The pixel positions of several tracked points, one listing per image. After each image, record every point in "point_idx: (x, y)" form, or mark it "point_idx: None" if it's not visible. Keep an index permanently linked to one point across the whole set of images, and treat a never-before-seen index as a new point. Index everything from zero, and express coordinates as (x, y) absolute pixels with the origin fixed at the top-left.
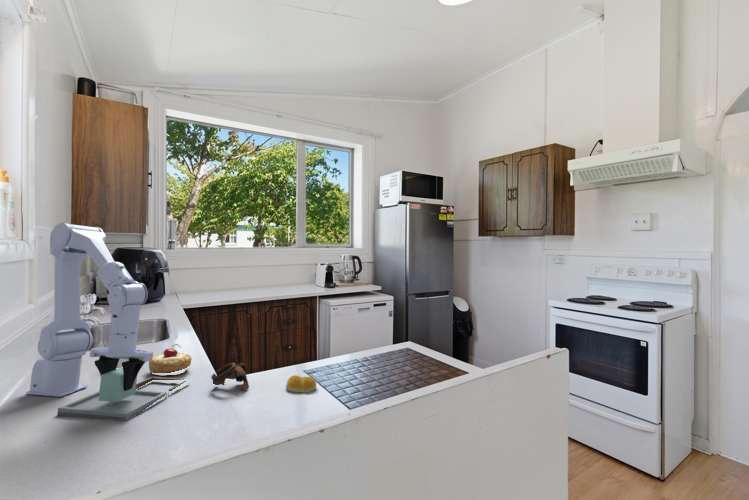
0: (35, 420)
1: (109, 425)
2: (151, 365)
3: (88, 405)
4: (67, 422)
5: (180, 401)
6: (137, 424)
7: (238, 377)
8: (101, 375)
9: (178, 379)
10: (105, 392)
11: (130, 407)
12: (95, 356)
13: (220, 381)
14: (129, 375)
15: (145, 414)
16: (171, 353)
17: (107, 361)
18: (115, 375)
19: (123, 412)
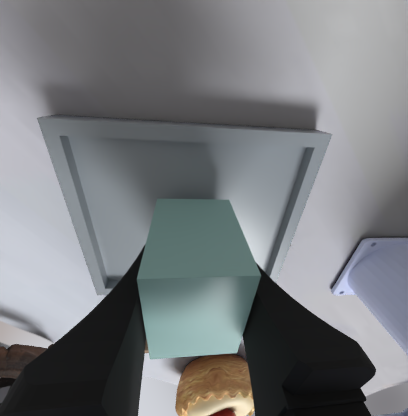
0: (363, 76)
1: (79, 66)
2: (244, 379)
3: (258, 193)
4: (250, 73)
5: (49, 274)
6: None
7: (7, 383)
8: (257, 271)
9: (147, 350)
10: (208, 216)
11: (120, 201)
12: (405, 414)
13: None
14: (103, 301)
15: (51, 181)
16: None
17: (284, 384)
18: (171, 282)
19: (66, 131)
